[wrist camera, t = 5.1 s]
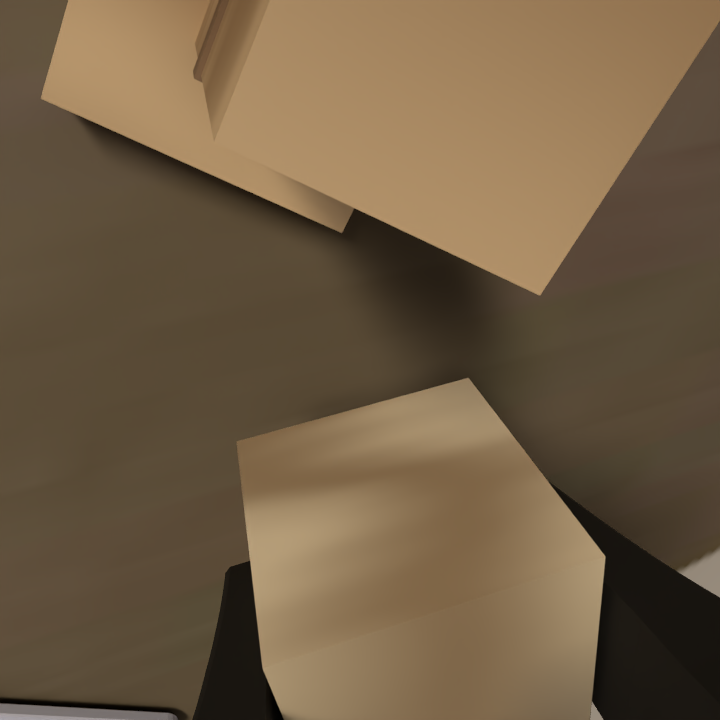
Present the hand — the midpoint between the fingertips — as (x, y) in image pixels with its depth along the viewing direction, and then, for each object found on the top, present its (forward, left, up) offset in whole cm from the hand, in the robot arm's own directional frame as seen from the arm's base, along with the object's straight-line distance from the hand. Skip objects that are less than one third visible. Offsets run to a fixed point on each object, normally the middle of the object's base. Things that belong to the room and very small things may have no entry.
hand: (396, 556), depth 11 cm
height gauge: (+7, +5, -6) cm, 11 cm away
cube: (0, 0, -2) cm, 2 cm away
